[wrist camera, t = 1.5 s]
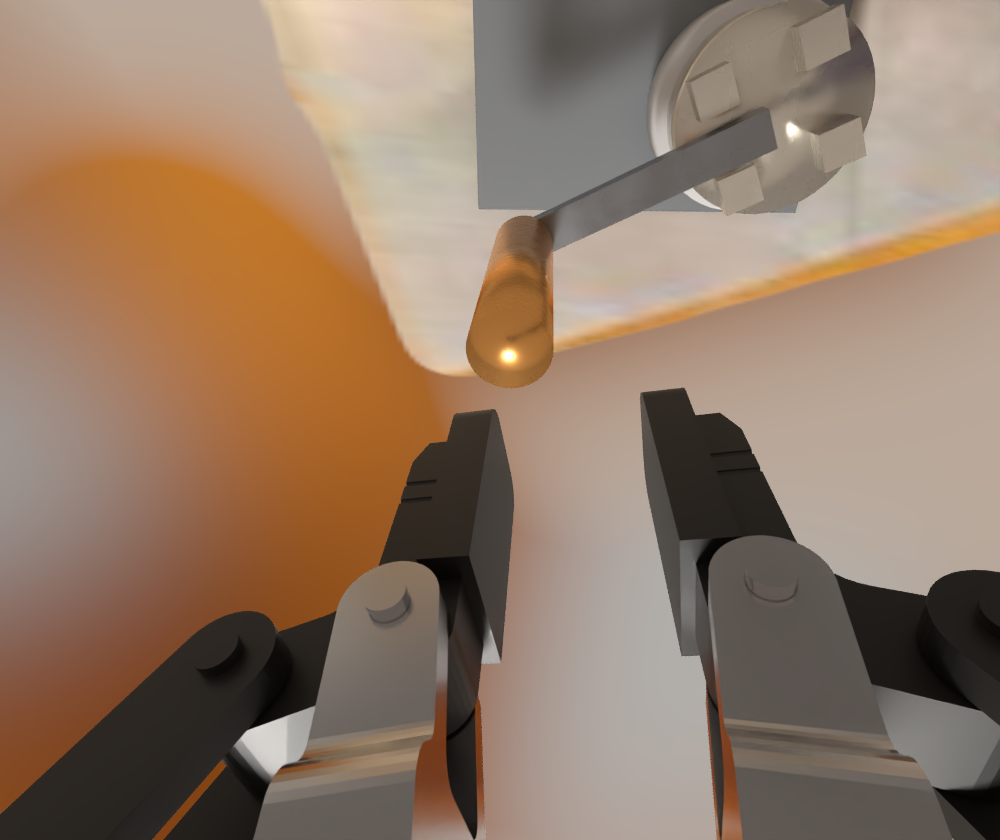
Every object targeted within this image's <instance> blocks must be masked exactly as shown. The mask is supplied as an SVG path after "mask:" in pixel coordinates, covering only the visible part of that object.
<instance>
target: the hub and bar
mask: <svg viewBox="0 0 1000 840" xmlns="http://www.w3.org/2000/svg"><path fill="white" fill-rule="evenodd" d="M874 94H875V68H874V63H873V58H872V54H871V51H870V49H869V46H868V43H867V41H866V39H865V38H864V36H863V34H862V32H861V31H860V30H859V28H858V27H857V26H856V25H855V24H854V22H853V21H852V20H850V19H849V18H848V17H847V16H846V13H845V6H844V4H837V5H832V6H827V5H824V4H822V3H818V2H812V1H787V2H780V3H774V4H768V5H762V6H758V7H755V8H752V9H749V10H746V11H744V12H742V13H740V14H737V15H735V16H734V17H732V18H730V19H729V20H727V21H725V22H724V23H722V24H721V25H720V26H719V27H717V28H716V29H715V30H714V31H712V32H711V33H710V34H709V35H708V36H707V37H706V38H705V39H704V40H703V41H702V42H701V43H700V44H699V45H698V47H697V48H696V49H695V50H694V52H693V53H692V54H691V56H690V57H689V59H688V60H687V62H686V63H685V65H684V66H683V68H682V70H681V72H680V74H679V76H678V78H677V81H676V83H675V86H674V89H673V91H672V95H671V99H670V103H669V108H668V115H667V137H668V144H669V148H670V151H669V152H667V153H665V154H663V155H661V156H659V157H657V158H655V159H652V160H650V161H648V162H646V163H644V164H642V165H640V166H638V167H636V168H634V169H632V170H630V171H628V172H626V173H624V174H621V175H619V176H617V177H615V178H613V179H611V180H609V181H607V182H605V183H603V184H601V185H599V186H597V187H595V188H592V189H590V190H588V191H586V192H584V193H582V194H580V195H578V196H576V197H574V198H572V199H570V200H568V201H566V202H564V203H561V204H559V205H557V206H555V207H553V208H551V209H549V210H547V211H545V212H543V213H541V214H539V215H537V216H535V217H531V216H518V217H514V218H512V219H510V220H508V221H507V222H505V223H504V224H503V225H502V227H501V228H500V229H499V231H498V233H497V236H496V239H495V243H494V246H493V250H492V253H491V257H490V260H489V264H488V267H487V271H486V274H485V278H484V281H483V285H482V288H481V292H480V295H479V298H478V302H477V305H476V309H475V312H474V316H473V319H472V323H471V326H470V330H469V333H468V337H467V341H466V354H467V358H468V361H469V363H470V365H471V367H472V368H473V370H474V371H475V372H476V373H477V375H479V376H480V377H481V378H482V379H483V380H485V381H487V382H488V383H490V384H493V385H495V386H499V387H504V388H518V387H523V386H526V385H529V384H531V383H533V382H535V381H536V380H538V379H539V378H540V377H542V375H543V374H544V373H545V372H546V371H547V369H548V368H549V366H550V364H551V361H552V357H553V252H554V251H556V250H558V249H560V248H562V247H565V246H567V245H569V244H571V243H573V242H575V241H578V240H580V239H582V238H584V237H586V236H589V235H591V234H593V233H595V232H597V231H599V230H602V229H604V228H606V227H608V226H610V225H613V224H615V223H617V222H619V221H621V220H623V219H626V218H628V217H630V216H632V215H634V214H637V213H639V212H641V211H643V210H645V209H647V208H650V207H652V206H654V205H656V204H658V203H661V202H663V201H665V200H667V199H669V198H672V197H674V196H676V195H678V194H680V193H682V192H685V191H687V190H689V189H691V188H693V189H694V190H695V191H696V192H697V193H698V194H699V195H700V196H702V197H703V198H704V199H705V200H707V201H708V202H710V203H711V204H713V205H715V206H717V207H719V208H721V210H722V211H723V212H724V213H725V214H726V215H727V216H728V215H731V214H733V213H742V214H759V213H768V212H772V211H776V210H780V209H783V208H785V207H788V206H791V205H793V204H795V203H797V202H799V201H801V200H803V199H805V198H806V197H808V196H809V195H811V194H813V193H814V192H816V191H817V190H818V189H819V188H821V187H822V186H823V185H825V184H826V183H827V182H828V181H829V180H830V179H831V178H832V177H833V176H834V175H835V174H836V173H837V172H838V171H839V170H840V169H841V167H842V166H843V165H846V164H848V163H850V162H852V161H855V160H857V159H859V158H862V157H864V156H866V149H865V143H864V136H863V133H864V130H865V128H866V126H867V123H868V120H869V117H870V114H871V111H872V106H873V100H874Z"/></svg>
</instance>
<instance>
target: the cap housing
mask: <svg viewBox="0 0 1000 840" xmlns="http://www.w3.org/2000/svg"><path fill="white" fill-rule="evenodd" d="M787 1H812V2H818V3H822V4H824V5H827V6H832V5H837V4H844V6H845V13H846V16H847V17H848V15H849V11H850V8H851V4H852V0H473V22H474V59H475V96H476V133H477V170H478V207H479V209H510V210H549V209H551V208H553V207H555V206H557V205H559V204H561V203H564V202H566V201H568V200H570V199H572V198H574V197H576V196H578V195H580V194H582V193H584V192H586V191H588V190H590V189H592V188H595V187H597V186H599V185H601V184H603V183H605V182H607V181H609V180H611V179H613V178H615V177H617V176H619V175H621V174H624V173H626V172H628V171H630V170H632V169H634V168H636V167H638V166H640V165H642V164H644V163H646V162H648V161H650V160H652V159H655V158H657V157H659V156H661V155H663V154H665V153H667V152H669V151H670V148H669V144H668V137H667V115H668V108H669V103H670V99H671V95H672V91H673V89H674V86H675V83H676V81H677V78H678V76H679V74H680V72H681V70H682V68H683V66H684V65H685V63H686V62H687V60H688V59H689V57H690V56H691V54H692V53H693V52H694V50H695V49H696V48H697V47H698V45H699V44H700V43H701V42H702V41H703V40H704V39H705V38H706V37H707V36H708V35H709V34H710V33H711V32H712V31H714V30H715V29H716V28H717V27H719V26H720V25H721V24H722V23H724V22H725V21H727V20H729V19H730V18H732V17H734V16H735V15H737V14H740V13H742V12H744V11H746V10H749V9H752V8H755V7H758V6H762V5H768V4H774V3H780V2H787ZM797 204H798V202H797V203H795V204H793V205H791V206H788V207H785V208H783V209H780V210H776V211H772V212H776V213H795V212H796V208H797ZM643 211H687V212H723V211H722V210H721V208H719V207H717V206H715V205H713V204H711V203H710V202H708V201H707V200H705V199H704V198H703V197H702V196H700V195H699V194H698V193H697V192H696V191H695V190H694V189H693V188H691V189H689V190H687V191H685V192H682V193H680V194H678V195H676V196H674V197H672V198H669V199H667V200H665V201H663V202H661V203H658V204H656V205H654V206H652V207H650V208H647V209H645V210H643Z"/></svg>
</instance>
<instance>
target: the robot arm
mask: <svg viewBox="0 0 1000 840" xmlns="http://www.w3.org/2000/svg"><path fill="white" fill-rule="evenodd" d="M640 404H641V420H642V421H641V422H642V439H643V456H644V470H645V479H646V486H647V493H648V498H649V503H650V508H651V513H652V517H653V522H654V527H655V532H656V536H657V541H658V546H659V550H660V555H661V560H662V565H663V570H664V575H665V579H666V584H667V589H668V594H669V598H670V603H671V608H672V613H673V617H674V622H675V627H676V632H677V636H678V641H679V646H680V651H681V655H682V656H694V655H695V656H697V655H700V658H701V662H702V666H703V671H704V675H705V679H706V711H707V723H708V736H709V749H710V761H711V773H712V786H713V798H714V810H715V823H716V835H717V840H952V838H953V839H954V840H1000V572H994V571H986V570H967V571H959V572H954V573H951V574H948V575H946V576H944V577H942V578H940V579H939V580H937V581H936V582H935V583H934V584H933V585H932V587H931V588H930V590H929V593H928V595H927V596H924V595H918V594H913V593H907V592H902V591H896V590H890V589H885V588H879V587H874V586H869V585H865V584H860V583H857V582H854V581H851V580H848V579H845V578H843V577H841V576H838V575H836V574H834V573H833V571H832V570H831V569H830V567H829V566H828V564H827V563H826V562H825V561H824V560H823V559H822V558H821V557H820V556H818V555H817V554H815V553H814V552H813V551H811V550H810V549H808V548H806V547H804V546H803V545H800V544H798V543H797V542H796V540H795V538H794V536H793V534H792V532H791V530H790V528H789V526H788V523H787V521H786V519H785V517H784V515H783V513H782V511H781V509H780V507H779V505H778V503H777V501H776V499H775V497H774V495H773V493H772V491H771V489H770V487H769V485H768V483H767V480H766V478H765V476H764V474H763V472H761V471H760V466H759V464H758V462H757V460H756V458H755V456H754V454H752V450H751V447H750V445H749V443H748V441H747V439H746V437H745V435H744V433H743V431H742V429H741V428H740V427H738V426H737V425H736V424H734V423H733V422H732V421H730V420H729V419H728V418H726V417H725V416H723V415H722V414H721V413H713V414H705V415H695V413H694V411H693V408H692V405H691V404H690V400H689V398H688V395H687V393H686V390H685V389H684V388H677V389H668V390H659V391H650V392H642V393H641V395H640ZM406 484H407V486H405V488H404V491H403V494H402V497H401V504H399V506H398V509H397V512H396V515H395V518H394V521H393V524H392V527H391V530H390V533H389V536H388V539H387V542H386V545H385V548H384V551H383V554H382V557H381V560H380V564H379V566H378V567H376V568H374V569H372V570H370V571H368V572H366V573H365V574H363V575H362V576H361V577H359V578H358V579H357V580H356V581H355V582H353V584H352V585H351V586H350V587H349V588H348V589H347V590H346V592H345V593H344V595H343V596H342V598H341V600H340V602H339V605H338V608H337V611H335V612H334V613H331V614H329V615H326V616H324V617H321V618H318V619H315V620H312V621H309V622H306V623H303V624H300V625H298V626H295V627H292V628H289V629H286V630H283V631H280V632H278V631H277V629H276V627H275V626H274V624H273V622H272V621H271V620H270V619H269V618H268V617H267V616H265V615H264V614H261V613H259V612H253V611H243V612H238V613H233V614H229V615H226V616H224V617H221V618H219V619H217V620H215V621H213V622H212V623H210V624H208V625H206V626H205V627H203V628H202V629H200V630H199V631H198V632H197V633H195V634H194V635H193V636H192V637H191V638H189V639H188V641H186V642H185V643H184V644H183V645H182V646H181V647H180V648H179V649H178V650H177V651H176V652H174V653H173V654H172V655H171V656H170V657H169V658H168V659H167V660H166V661H165V662H164V663H163V664H162V665H160V666H159V667H158V668H157V669H156V670H155V671H154V672H153V673H152V674H151V675H150V676H149V677H147V678H146V679H145V680H144V681H143V682H142V683H141V684H140V685H139V686H138V687H137V688H136V689H135V690H134V691H132V692H131V693H130V694H129V695H128V696H127V697H126V698H125V699H124V700H123V701H122V702H121V703H120V704H119V705H118V706H116V707H115V708H114V709H113V710H112V711H111V712H110V713H109V714H108V715H107V716H106V717H105V718H103V719H102V720H101V721H100V722H99V723H98V724H97V725H96V726H95V727H94V728H93V729H92V730H91V731H89V732H88V733H87V734H86V735H85V736H84V737H83V738H82V739H81V740H80V741H79V742H78V743H77V744H76V745H74V746H73V747H72V748H71V749H70V750H69V751H68V752H67V753H66V754H65V755H64V756H63V757H62V758H60V759H59V760H58V761H57V762H56V763H55V764H54V765H53V766H52V767H51V768H50V769H49V770H48V771H47V772H45V773H44V774H43V775H42V776H41V777H40V778H39V779H38V780H37V781H36V782H35V783H34V784H33V785H32V786H30V787H29V788H28V789H27V790H26V791H25V792H24V793H23V794H22V795H21V796H20V797H19V798H18V799H16V801H14V802H13V803H12V804H11V805H10V806H9V807H8V808H7V809H6V810H5V811H4V812H2V813H1V814H0V840H152V839H153V838H154V836H155V835H156V834H157V833H158V832H159V831H160V830H161V828H162V827H163V826H164V825H165V824H166V823H167V821H168V820H169V819H170V818H171V817H172V816H173V815H174V814H175V812H176V811H177V810H178V809H179V808H180V807H181V805H182V804H183V803H184V802H185V801H186V800H187V799H188V797H189V796H190V795H191V794H192V793H193V792H194V790H195V789H196V788H197V787H198V786H199V785H200V784H201V783H202V781H203V780H204V779H205V778H206V777H207V775H209V773H210V772H211V771H212V770H213V769H214V767H216V765H217V764H218V763H219V762H220V761H221V760H222V762H223V763H224V764H225V765H226V768H225V769H224V770H223V771H222V772H221V773H220V775H219V776H218V777H217V778H216V779H215V780H214V782H213V783H212V784H211V785H210V786H209V788H208V789H207V790H206V791H205V792H204V793H203V794H202V796H201V797H200V798H199V799H198V800H197V801H196V803H195V804H194V805H193V806H192V807H191V808H190V810H189V811H188V812H187V813H186V814H185V815H184V817H183V818H182V819H181V820H180V821H179V823H178V824H177V825H176V826H175V827H174V828H173V829H172V831H171V832H170V833H169V834H168V835H167V837H166V838H165V839H164V840H486V834H485V805H484V777H483V776H484V775H483V746H482V718H481V704H480V700H479V697H478V689H479V679H480V671H481V664H486V663H487V664H488V663H501V657H502V646H503V633H504V622H505V609H506V597H507V584H508V572H509V561H510V549H511V537H512V524H513V512H514V511H513V510H514V494H513V484H512V477H511V472H510V468H509V463H508V458H507V454H506V449H505V445H504V440H503V435H502V431H501V426H500V422H499V418H498V415H497V412H496V410H495V409H491V410H482V411H474V412H465V413H456V414H455V415H454V417H453V420H452V424H451V428H450V432H449V435H448V440H447V442H439V443H430V444H429V445H428V446H427V447H426V448H425V449H424V451H423V452H422V453H421V454H420V455H419V456H418V457H417V458H416V459H415V460H414V462H413V464H412V466H411V469H410V472H409V476H408V479H407V482H406Z"/></svg>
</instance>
